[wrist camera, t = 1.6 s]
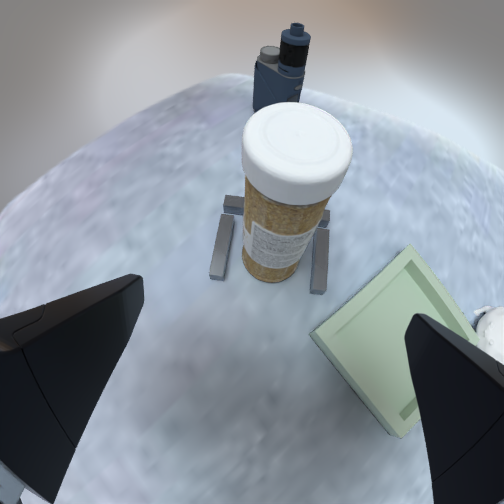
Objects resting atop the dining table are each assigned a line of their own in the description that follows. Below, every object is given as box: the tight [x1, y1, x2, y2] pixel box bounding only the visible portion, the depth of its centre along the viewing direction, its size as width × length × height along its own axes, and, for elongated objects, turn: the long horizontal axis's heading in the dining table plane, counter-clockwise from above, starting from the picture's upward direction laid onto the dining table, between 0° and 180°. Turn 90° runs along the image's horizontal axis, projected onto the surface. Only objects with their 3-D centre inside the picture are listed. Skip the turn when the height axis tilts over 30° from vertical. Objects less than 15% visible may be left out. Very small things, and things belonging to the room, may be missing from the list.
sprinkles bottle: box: [242, 102, 353, 283], centre depth 17 cm, size 5×5×14 cm
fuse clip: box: [209, 195, 330, 295], centre depth 23 cm, size 7×9×1 cm
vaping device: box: [253, 23, 311, 113], centre depth 24 cm, size 3×5×12 cm, turn 40°
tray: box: [309, 244, 480, 439], centre depth 20 cm, size 11×11×2 cm
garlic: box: [474, 306, 504, 365], centre depth 19 cm, size 8×7×4 cm
